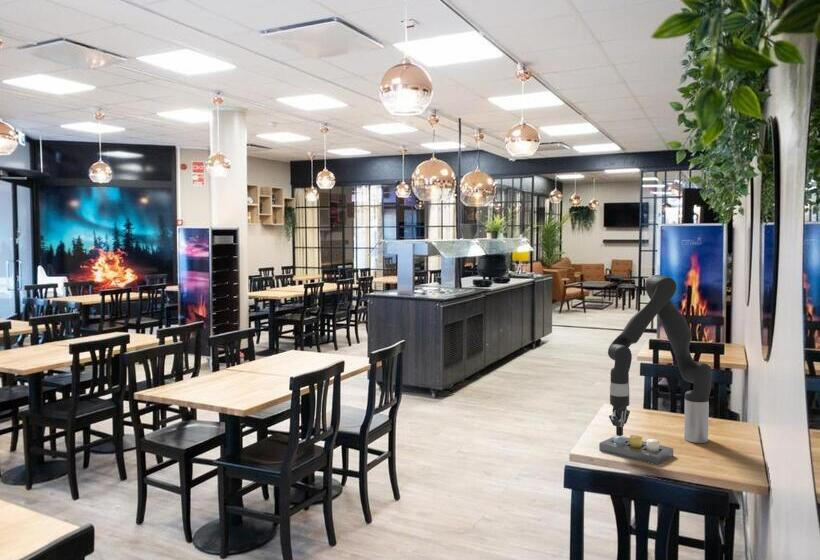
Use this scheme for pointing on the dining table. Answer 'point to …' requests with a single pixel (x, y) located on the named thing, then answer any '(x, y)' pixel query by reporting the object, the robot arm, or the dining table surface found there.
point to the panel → (636, 451)
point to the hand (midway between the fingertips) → (619, 435)
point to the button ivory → (652, 445)
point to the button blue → (619, 440)
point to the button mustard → (636, 441)
